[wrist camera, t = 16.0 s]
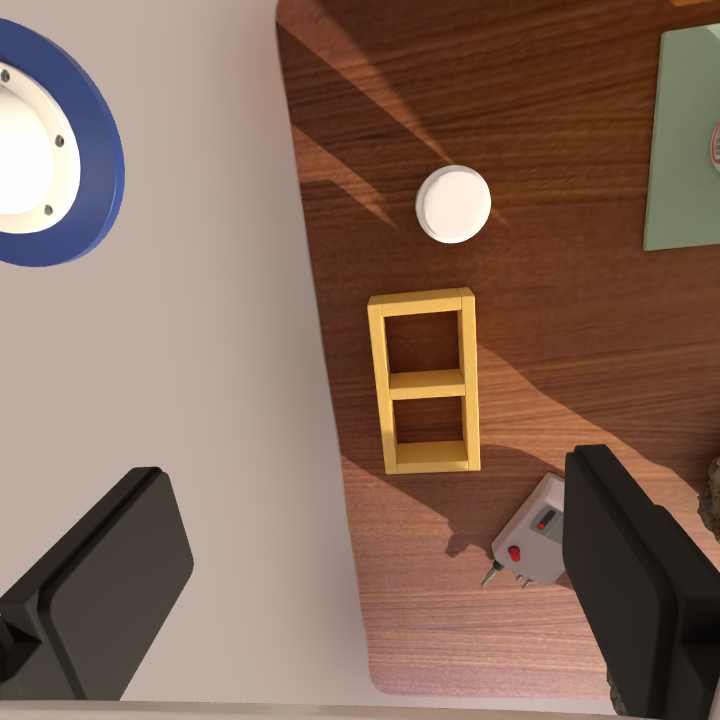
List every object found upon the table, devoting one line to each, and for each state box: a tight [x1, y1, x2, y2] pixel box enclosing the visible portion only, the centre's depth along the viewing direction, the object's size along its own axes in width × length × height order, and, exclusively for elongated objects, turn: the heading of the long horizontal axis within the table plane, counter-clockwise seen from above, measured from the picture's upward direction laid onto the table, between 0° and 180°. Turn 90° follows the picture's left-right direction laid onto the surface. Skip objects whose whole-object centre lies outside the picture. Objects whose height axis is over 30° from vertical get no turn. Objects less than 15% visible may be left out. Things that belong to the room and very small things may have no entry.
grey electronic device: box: [481, 456, 566, 589], centre depth 42 cm, size 7×16×3 cm, turn 153°
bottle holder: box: [367, 287, 480, 474], centre depth 38 cm, size 8×15×4 cm, turn 7°
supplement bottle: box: [415, 165, 491, 243], centre depth 30 cm, size 5×5×8 cm
